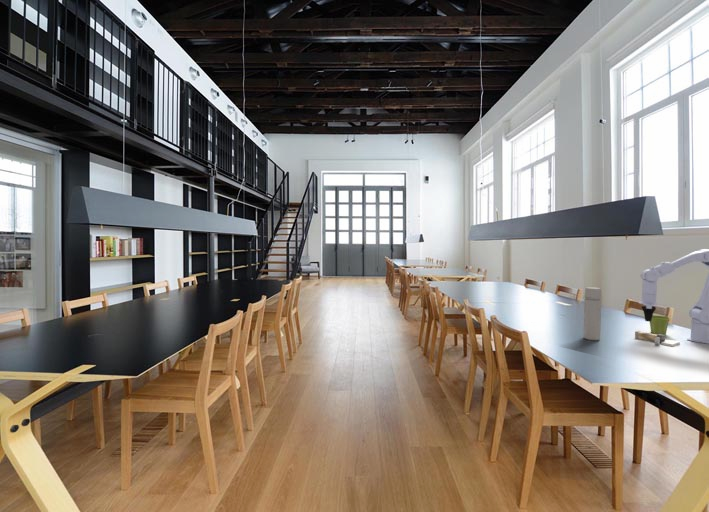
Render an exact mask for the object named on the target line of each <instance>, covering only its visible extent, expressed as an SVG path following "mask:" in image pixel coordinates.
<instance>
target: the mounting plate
mask: <svg viewBox="0 0 709 512" xmlns="http://www.w3.org/2000/svg"><path fill="white" fill-rule="evenodd" d="M662 344H663V346H667V345H668V347H672V346H673V347H675V345H676V346H678V345H680V344H681V342H680V341H679V340H678V341H676V340H672V339H668V340H665V341H664V342H662V343H661V345H662Z"/></svg>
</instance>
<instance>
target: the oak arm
mask: <svg viewBox="0 0 709 512" xmlns="http://www.w3.org/2000/svg"><path fill="white" fill-rule="evenodd" d="M655 337H659V338H660V344H662V342H664V341H666V334H665V335H662V334H653V333H651V332H644V331H640V330H636V331H634V338H635V339H638V338H639V340H643V339H644V340H643V341H648V340H650V341H649V342H654V343H655Z"/></svg>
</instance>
